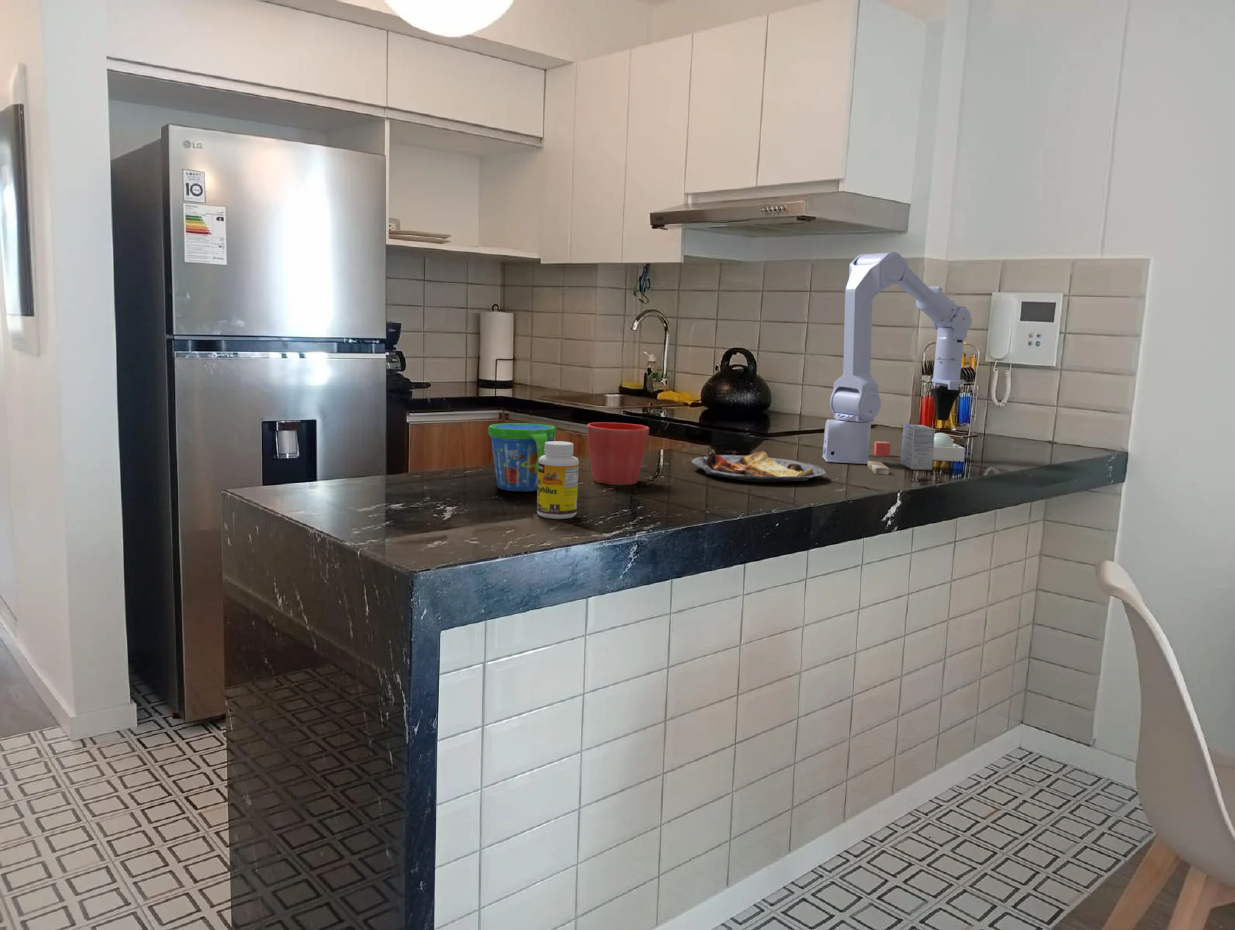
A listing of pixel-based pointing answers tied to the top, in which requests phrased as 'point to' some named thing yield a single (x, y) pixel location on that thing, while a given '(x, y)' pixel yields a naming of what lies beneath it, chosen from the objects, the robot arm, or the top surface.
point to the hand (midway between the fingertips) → (942, 420)
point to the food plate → (757, 468)
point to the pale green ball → (942, 440)
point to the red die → (881, 448)
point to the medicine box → (917, 447)
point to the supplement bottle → (557, 481)
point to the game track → (878, 467)
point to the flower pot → (616, 451)
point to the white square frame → (949, 453)
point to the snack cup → (519, 453)
